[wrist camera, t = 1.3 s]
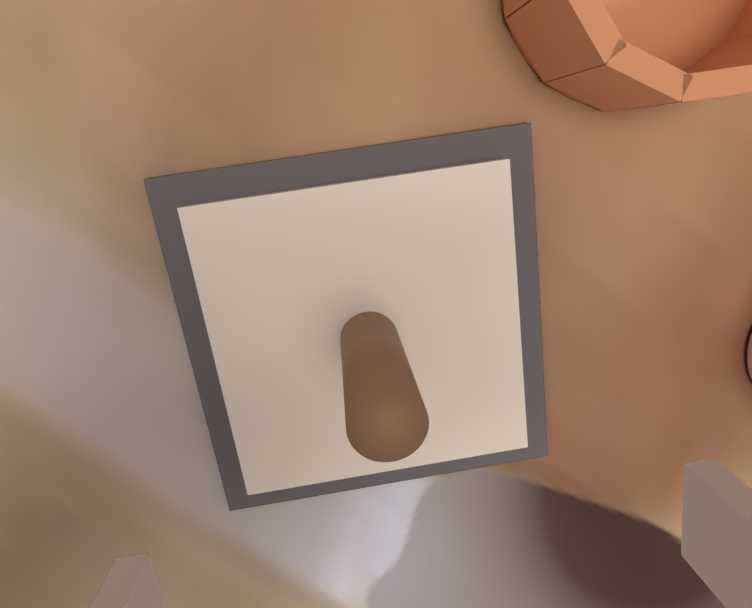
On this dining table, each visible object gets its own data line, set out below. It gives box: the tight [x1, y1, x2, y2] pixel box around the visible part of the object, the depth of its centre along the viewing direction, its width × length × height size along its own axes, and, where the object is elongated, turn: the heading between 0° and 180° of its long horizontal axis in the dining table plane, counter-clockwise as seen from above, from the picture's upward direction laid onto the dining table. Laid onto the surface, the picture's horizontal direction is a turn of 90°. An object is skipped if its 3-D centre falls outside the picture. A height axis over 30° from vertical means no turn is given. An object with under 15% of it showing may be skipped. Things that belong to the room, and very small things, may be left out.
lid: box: [177, 158, 528, 495], centre depth 24 cm, size 16×16×10 cm
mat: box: [144, 123, 548, 511], centre depth 29 cm, size 19×19×1 cm
